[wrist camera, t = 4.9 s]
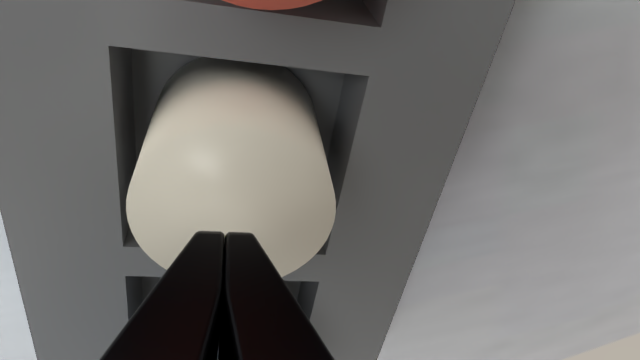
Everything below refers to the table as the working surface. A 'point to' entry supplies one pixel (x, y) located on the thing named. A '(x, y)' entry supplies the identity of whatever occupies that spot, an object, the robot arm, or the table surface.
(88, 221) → the console
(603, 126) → the table surface
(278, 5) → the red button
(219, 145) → the cream button
